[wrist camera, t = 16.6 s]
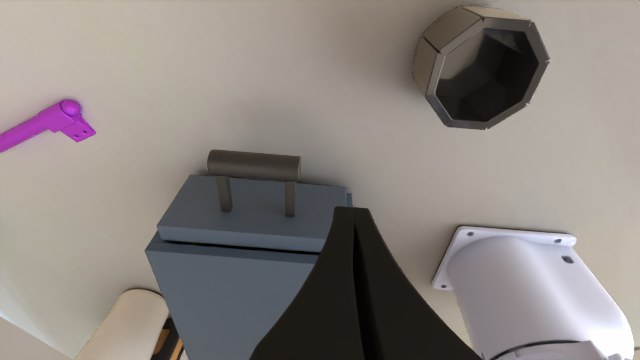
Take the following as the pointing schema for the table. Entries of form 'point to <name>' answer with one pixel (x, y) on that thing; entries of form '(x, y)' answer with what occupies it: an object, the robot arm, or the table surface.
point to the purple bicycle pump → (50, 125)
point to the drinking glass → (128, 328)
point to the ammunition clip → (168, 343)
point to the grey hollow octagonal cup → (479, 65)
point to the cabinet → (225, 293)
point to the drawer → (252, 206)
